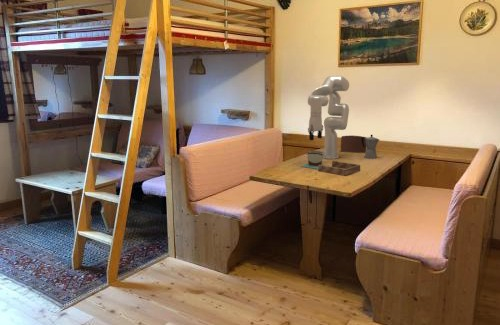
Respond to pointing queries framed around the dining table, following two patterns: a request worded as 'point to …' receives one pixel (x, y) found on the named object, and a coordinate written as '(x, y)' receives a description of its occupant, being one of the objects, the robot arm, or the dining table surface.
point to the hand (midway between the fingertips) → (315, 139)
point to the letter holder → (352, 144)
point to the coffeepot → (370, 147)
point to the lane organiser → (346, 171)
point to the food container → (315, 158)
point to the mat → (310, 166)
